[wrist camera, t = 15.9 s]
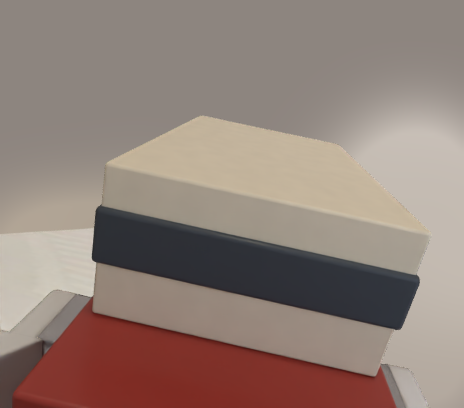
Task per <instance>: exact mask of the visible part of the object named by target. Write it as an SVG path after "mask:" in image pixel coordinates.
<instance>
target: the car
mask: <svg viewBox="0 0 464 408" xmlns="http://www.w3.org/2000/svg"><path fill="white" fill-rule="evenodd" d="M430 238H431V232H430V231H429V230H428V229H427V228H426V227H425V226H423V225H422V224H421V223H420V222H419V221H418V220H417V219H416V218H415V217H414V216H413V215H412V214H411V213H410V212H409V211H408V210H407V209H406V208H404V207H403V206H402V205H401V204H400V203H399V202H398V201H397V200H396V199H395V198H394V197H393V196H392V195H391V194H390V193H389V192H388V191H387V190H386V189H384V187H382V186H381V185H380V184H379V183H378V182H377V181H376V180H375V179H374V178H373V177H372V176H371V175H370V174H369V173H368V172H367V171H366V170H365V169H363V168H362V167H361V166H360V165H359V164H358V163H357V162H356V161H355V160H354V159H353V158H352V157H351V156H350V155H349V154H348V153H347V152H346V151H345V150H344V149H342V148H341V147H340V146H339V145H338V144H334V143H329V142H325V141H320V140H315V139H310V138H306V137H301V136H296V135H291V134H287V133H281V132H277V131H272V130H268V129H263V128H258V127H253V126H249V125H244V124H239V123H234V122H230V121H225V120H220V119H216V118H211V117H206V116H199V117H197V118H195V119H193V120H191V121H189V122H187V123H185V124H183V125H181V126H179V127H177V128H175V129H173V130H171V131H169V132H167V133H165V134H163V135H161V136H159V137H157V138H155V139H153V140H151V141H149V142H147V143H145V144H143V145H141V146H139V147H137V148H135V149H133V150H131V151H129V152H127V153H125V154H123V155H121V156H119V157H117V158H115V159H113V160H111V161H109V162H107V163H106V165H105V174H104V185H103V196H102V204H101V205H100V206H99V207H98V208H97V209H96V215H95V226H94V237H93V249H92V260H93V261H94V262H96V273H95V284H94V295H93V297H92V298H91V299H90V300H89V301H88V303H87V304H86V305H85V306H84V307H83V309H82V310H81V311H80V312H79V313H78V315H77V316H76V317H75V318H74V320H73V321H72V322H71V323H70V324H69V326H68V327H67V328H66V329H65V330H64V332H63V333H62V334H61V335H60V336H59V338H58V339H57V340H56V341H55V342H54V344H53V345H52V346H51V347H50V349H49V350H48V351H47V352H46V353H45V355H44V356H43V357H42V358H41V359H40V361H39V362H38V363H37V364H36V365H35V367H34V368H33V369H32V370H31V372H30V373H29V374H28V375H27V376H26V378H25V379H24V380H23V381H22V382H21V384H20V385H19V386H18V387H17V388H16V390H15V391H14V393H13V396H12V408H397V407H396V404H395V401H394V399H393V396H392V394H391V391H390V388H389V386H388V383H387V381H386V378H385V375H384V373H383V370H382V368H381V362H382V360H383V357H384V355H385V352H386V350H387V347H388V344H389V342H390V339H391V337H392V334H393V332H394V329H395V330H400V329H401V328H402V326H403V323H404V321H405V318H406V316H407V314H408V311H409V309H410V306H411V304H412V301H413V299H414V296H415V294H416V291H417V289H418V286H419V283H420V280H419V277H418V276H417V271H418V269H419V266H420V264H421V261H422V259H423V256H424V254H425V251H426V249H427V246H428V244H429V241H430Z"/></svg>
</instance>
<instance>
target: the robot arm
mask: <svg viewBox="0 0 464 408" xmlns="http://www.w3.org/2000/svg"><path fill="white" fill-rule="evenodd" d="M91 298H92V297H88V296H84V295H80V294H79V295H77V294H75V293H71V292H66V291H62V290H54V291H52V292H50V293H49V294H48V295H47V296H46V297H45V298H44V299H43V300H42V301H41V302H40V303H39V304H38V305H37V306H36V307H35V308H34V309H33V310H32V311H31V312H30V313H28V314H27V315H26V316H25V317H24V318H23V319H22V320H21V321H20V322H19V323H18V324H17V325H16V326H15V327H14V328H13V329H12V330H11V331H10V332H8V331H3V330H2V331H0V408H12V396H13V393H14V391H15V390H16V388H17V387H18V386H19V385H20V384H21V382H22V381H23V380H24V379H25V378H26V376H27V375H28V374H29V373H30V372H31V370H32V369H33V368H34V367H35V365H36V364H37V363H38V362H39V361H40V359H41V358H42V357H43V356H44V355H45V353H46V352H47V351H48V350H49V349H50V347H51V346H52V345H53V344H54V342H55V341H56V340H57V339H58V338H59V336H60V335H61V334H62V333H63V332H64V330H65V329H66V328H67V327H68V326H69V324H70V323H71V322H72V321H73V320H74V318H75V317H76V316H77V315H78V313H79V312H80V311H81V310H82V309H83V307H84V306H85V305H86V304H87V303H88V301H89V300H90V299H91ZM381 368H382V370H383V373H384V375H385V378H386V381H387V383H388V386H389V388H390V391H391V394H392V396H393V399H394V401H395V404H396V407H397V408H430V407H429V405H428V403H427V401H426V399H425V397H424V395H423V393H422V391H421V389H420V387H419V385H418V383H417V381H416V379H415V377H414V375H413V373H412V371H410V370H409V369H408V368H404V367H398V366H393V365H388V364H381Z"/></svg>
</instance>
